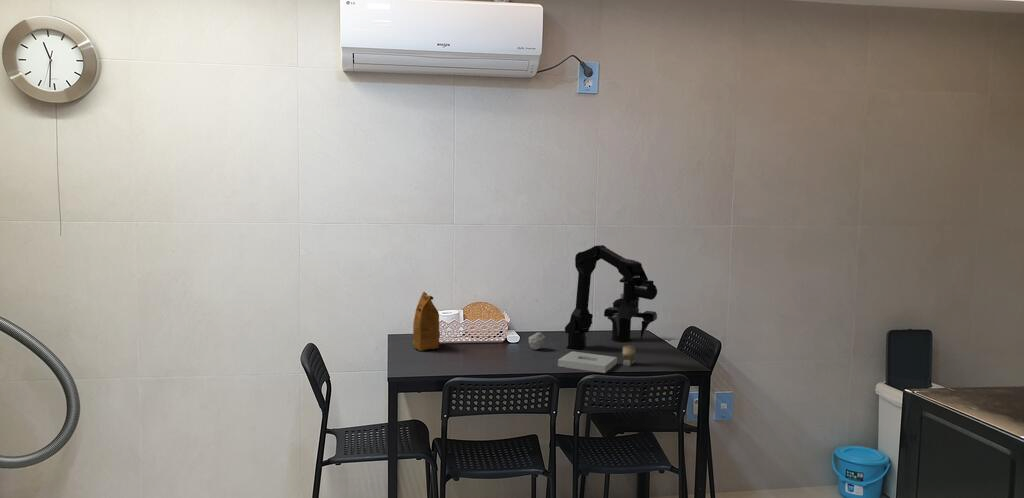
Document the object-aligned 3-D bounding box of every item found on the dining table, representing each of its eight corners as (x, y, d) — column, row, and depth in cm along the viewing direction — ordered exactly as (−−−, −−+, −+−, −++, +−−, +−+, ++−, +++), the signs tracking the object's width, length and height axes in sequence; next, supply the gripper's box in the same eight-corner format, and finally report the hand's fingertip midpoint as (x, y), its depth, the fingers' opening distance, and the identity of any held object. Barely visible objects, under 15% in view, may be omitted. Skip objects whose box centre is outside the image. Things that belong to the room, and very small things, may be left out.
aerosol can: (618, 343, 300) (620, 296, 298) (607, 338, 308) (608, 292, 306) (634, 341, 304) (636, 294, 302) (623, 337, 312) (624, 291, 309)
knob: (632, 366, 264) (633, 349, 263) (620, 365, 266) (620, 348, 265) (637, 363, 269) (637, 346, 269) (624, 361, 271) (625, 344, 271)
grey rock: (542, 352, 283) (542, 334, 282) (525, 350, 285) (526, 333, 285) (546, 348, 289) (547, 331, 288) (530, 347, 291) (530, 330, 290)
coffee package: (434, 343, 295) (434, 290, 292) (441, 350, 283) (441, 295, 281) (410, 344, 292) (410, 291, 289) (416, 352, 280) (416, 296, 277)
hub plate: (557, 366, 263) (558, 359, 263) (571, 357, 275) (571, 351, 275) (604, 372, 255) (605, 366, 255) (616, 363, 268) (616, 357, 267)
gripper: (599, 296, 262) (598, 338, 263) (650, 301, 254) (648, 344, 255) (609, 292, 272) (608, 332, 273) (658, 296, 264) (656, 338, 265)
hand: (629, 336), depth 267 cm, fingers open, 9 cm apart
